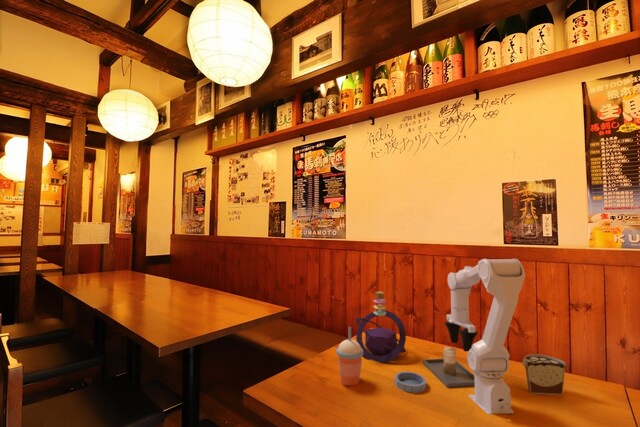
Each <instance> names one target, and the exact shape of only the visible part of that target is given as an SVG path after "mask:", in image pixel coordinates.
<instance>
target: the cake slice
mask: <svg viewBox="0 0 640 427" xmlns="http://www.w3.org/2000/svg"><path fill="white" fill-rule="evenodd" d="M522 365H523V367H524V368H525V373H526V382H527V383H526V384H527V389H528V392H529V393H530V394H535V395H536V394H537V395H556V396H557V395H559V396H563V395H564V386H565V385H564V384H565V383H564V382H565V369H566V370H568V367H567V364H566V362H565V361H563V360H562V359H559V358H556V357H554V356H549V355H546V354H540V353H539V354H538V353H535V354H534V353H531V354H530V353H529V354H526V355H525V356H524V358H523V359H522Z"/></svg>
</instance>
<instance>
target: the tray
mask: <svg viewBox="0 0 640 427" xmlns="http://www.w3.org/2000/svg"><path fill="white" fill-rule="evenodd" d="M422 364H423V365H424V366H425V368H427V369H428V371H430V372H431V373H432V374H433V375H434V376H435V378H437V379H438V380H439V381H440V382H441V384H443V385H444V387H446V389H449V388H467V387H473V388H475V377H474V373H472V372H471V371H470V370H469V369H467V368H466V367H464V366H463V364H461V363H459V361H457V360H456V375H448V374H445V373H444V358H427V359H426V358H425V359H422Z"/></svg>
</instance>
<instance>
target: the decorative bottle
mask: <svg viewBox="0 0 640 427" xmlns="http://www.w3.org/2000/svg"><path fill="white" fill-rule="evenodd" d="M375 295H376V296H375V299H373V300H372V302H373V303H375V305H373V306H372V307H373V308H374V309H375V311H372V312H370V313H368V314H366V316H364V317H356V318H355V323H356V325H357V326H358V328H357V330H356V336H355V337H356V338H355V339H356V342H358V343H359V345H360V346H361V348H362V349H363V356H362V357H364V358H365V359H367V360H369V361H374V362H377V363H380V364H387V363H390V362H391V361H393V360H396V358H398V356H399V355H400V354H404V353H405V352H406V348H405V344H406V340H407V333H406V332H407V331H406V328H405V324H404V323H403V321H402V320H401V318H400V317H398V316H397V315H396V314H395V313H393V312H391V311H389V310H386V308H387V305H385V304H386V302H387V299H385V297H384V295H385V292H384V291H375ZM375 317H376V318H377V317H385V318H386V317H387V318H389V319H391V320H392V322H394V323H395V324H396V326H397V328H398V333H399V339H398V337H397V336H398V335H397V332H396V331H394V330H391V329H387V328H385V327H383V326H381V325H380V324H379V323H377V322H374V321H373V320H372V319H374V318H375ZM367 323H370V324H373V325H375V326H377V327H374V328H366V329H364V328H365V326H366V325H367ZM363 333H364V337H365V338H364V339H365V340H364V343H363Z"/></svg>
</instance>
